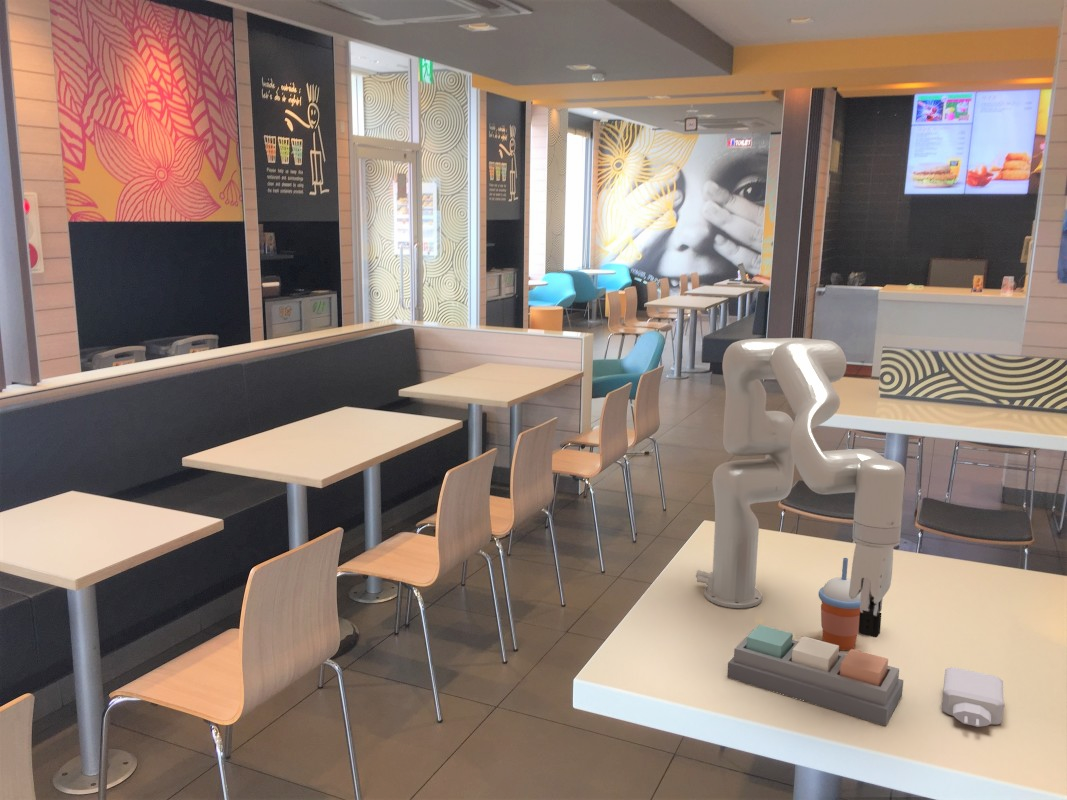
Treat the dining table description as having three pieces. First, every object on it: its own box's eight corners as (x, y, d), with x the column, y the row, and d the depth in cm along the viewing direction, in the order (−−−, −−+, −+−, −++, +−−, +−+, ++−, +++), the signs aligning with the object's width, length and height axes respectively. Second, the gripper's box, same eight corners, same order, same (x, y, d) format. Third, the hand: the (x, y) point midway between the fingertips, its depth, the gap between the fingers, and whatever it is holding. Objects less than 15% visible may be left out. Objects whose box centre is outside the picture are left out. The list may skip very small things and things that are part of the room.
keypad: (727, 677, 162) (728, 649, 161) (750, 652, 172) (752, 626, 171) (885, 726, 147) (888, 695, 146) (902, 695, 157) (904, 667, 155)
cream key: (791, 665, 158) (792, 649, 157) (802, 651, 163) (803, 636, 162) (827, 675, 154) (828, 659, 154) (837, 660, 159) (839, 645, 159)
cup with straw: (862, 637, 179) (869, 553, 176) (863, 657, 171) (871, 569, 167) (815, 630, 182) (821, 547, 178) (814, 649, 173) (820, 563, 170)
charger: (939, 730, 146) (943, 689, 159) (1001, 745, 142) (1000, 702, 155) (941, 704, 145) (945, 665, 158) (1005, 718, 141) (1003, 677, 154)
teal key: (746, 652, 162) (746, 637, 162) (758, 639, 168) (759, 624, 167) (780, 661, 159) (781, 646, 158) (791, 648, 164) (792, 633, 164)
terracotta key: (839, 678, 153) (840, 662, 152) (849, 664, 158) (850, 648, 158) (877, 689, 149) (879, 673, 149) (886, 674, 155) (888, 658, 154)
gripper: (864, 517, 157) (858, 614, 160) (841, 539, 145) (834, 644, 148) (909, 524, 153) (901, 624, 156) (889, 548, 140) (881, 656, 144)
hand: (869, 633), depth 152 cm, fingers closed
